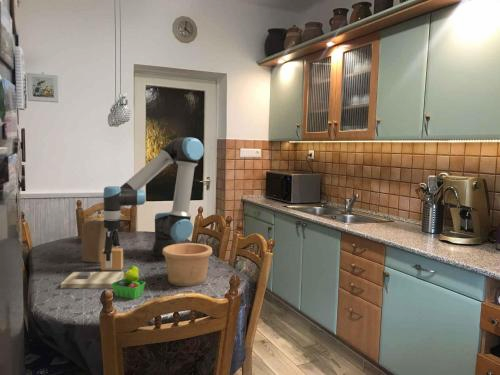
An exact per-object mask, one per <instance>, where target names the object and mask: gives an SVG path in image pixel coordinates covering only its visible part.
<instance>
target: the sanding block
mask: <svg viewBox="0 0 500 375" xmlns="http://www.w3.org/2000/svg"><path fill="white" fill-rule="evenodd" d="M104 249H105V248H104ZM104 249H103V250H102V251H101V262H100V269H101V271H100V272H123V269H124V248H123V247H121V248H120V247H118V248H112V251H111V253H112V268H105V254H103V252H104Z"/></svg>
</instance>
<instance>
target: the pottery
mask: <svg viewBox="0 0 500 375" xmlns="http://www.w3.org/2000/svg"><path fill="white" fill-rule="evenodd" d="M162 254H163V255H164V256H165V258H164V259H165V265H166V274H167V281H168V283H170V284H171V285H172V286H177V287H195V286H199V285H202V284H204V283H205V282H206V281H207V273H208V268H209V262H210V257H211V255H212V254H213V248H212V247H211V246H209V245H207V244H204V243H193V242H188V243H187V242H184V243H183V242H182V243H177V244H173V245H170V246H167V247H165V248H163V251H162Z"/></svg>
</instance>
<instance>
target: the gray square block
mask: <svg viewBox="0 0 500 375" xmlns="http://www.w3.org/2000/svg"><path fill="white" fill-rule="evenodd" d="M86 272H87V273H80V274H79V275H78V279H88V278H89V277H90V272H91V271H86Z"/></svg>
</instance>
